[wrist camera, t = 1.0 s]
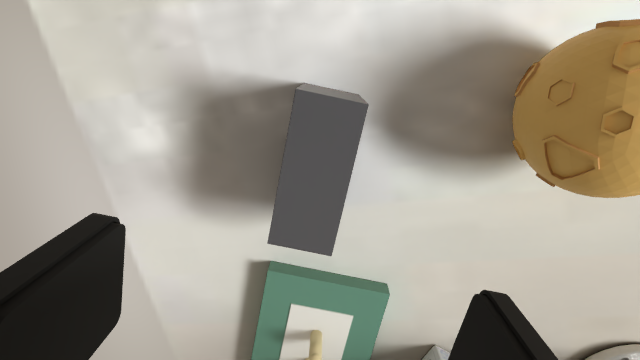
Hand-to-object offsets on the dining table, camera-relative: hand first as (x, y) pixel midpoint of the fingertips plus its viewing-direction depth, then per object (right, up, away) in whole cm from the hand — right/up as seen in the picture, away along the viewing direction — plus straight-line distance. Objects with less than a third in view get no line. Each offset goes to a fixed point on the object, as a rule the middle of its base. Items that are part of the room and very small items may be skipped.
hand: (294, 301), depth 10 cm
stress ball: (+18, +9, +17) cm, 26 cm away
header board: (0, -12, +24) cm, 26 cm away
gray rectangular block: (+1, +5, +18) cm, 19 cm away
